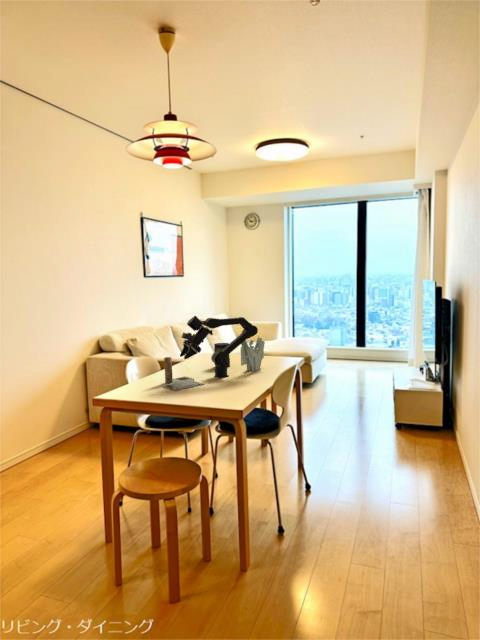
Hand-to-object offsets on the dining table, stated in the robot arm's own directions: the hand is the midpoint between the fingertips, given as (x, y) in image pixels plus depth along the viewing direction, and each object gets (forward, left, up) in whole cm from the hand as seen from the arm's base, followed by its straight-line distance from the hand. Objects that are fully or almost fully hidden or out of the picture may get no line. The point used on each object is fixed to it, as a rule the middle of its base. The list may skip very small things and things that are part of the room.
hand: (182, 357), depth 247 cm
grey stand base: (+7, +10, -13) cm, 18 cm away
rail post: (+8, -3, -13) cm, 15 cm away
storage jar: (-40, -16, -13) cm, 45 cm away
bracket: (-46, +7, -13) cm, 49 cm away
